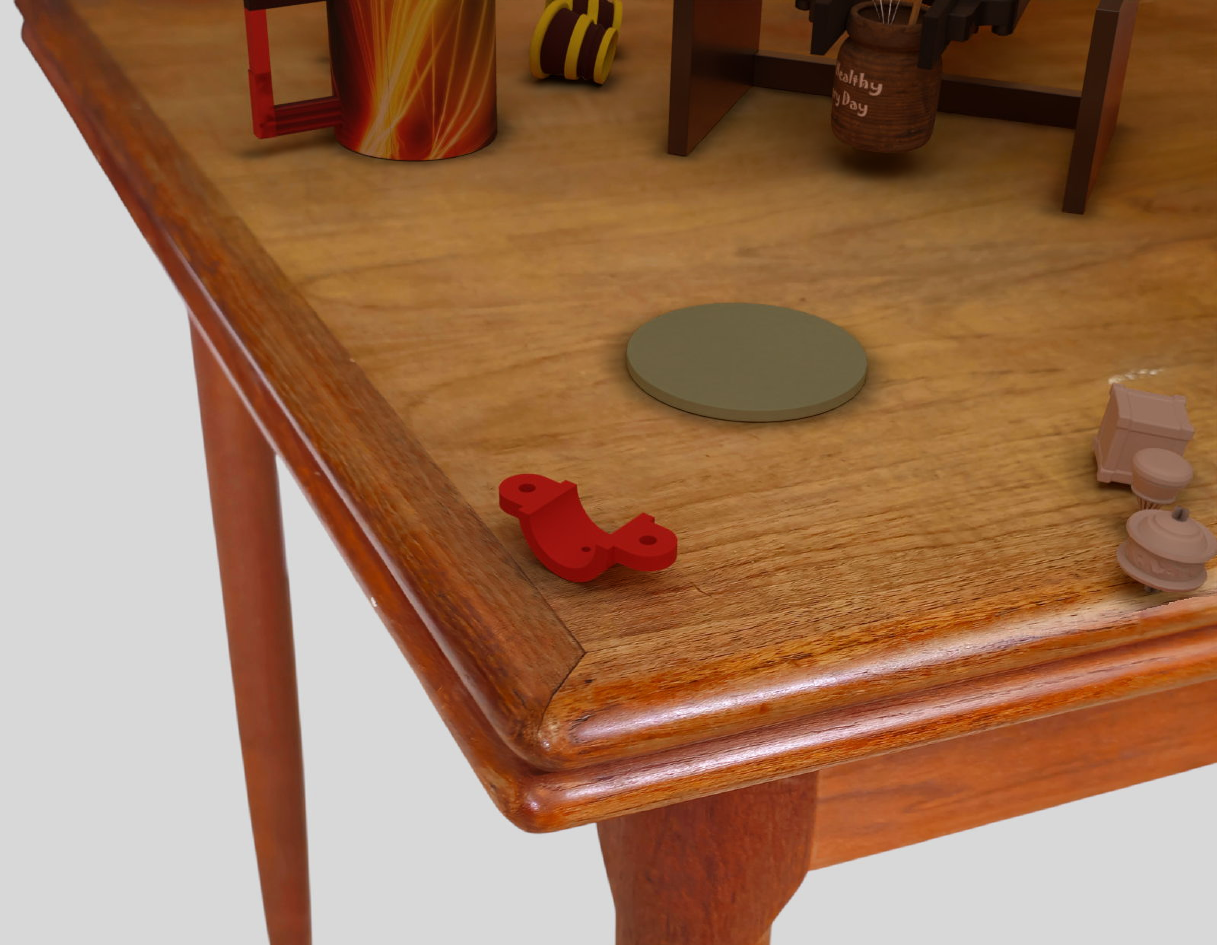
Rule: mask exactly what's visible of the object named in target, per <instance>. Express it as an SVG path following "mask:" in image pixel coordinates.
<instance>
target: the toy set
mask: <svg viewBox="0 0 1217 945" xmlns="http://www.w3.org/2000/svg"><path fill="white" fill-rule="evenodd" d="M1108 393H1109V398H1108V402H1107V405H1106V407H1105V411H1104V414H1103V417H1102V419H1101V422H1100V425H1099V428H1098V430H1097V431H1098V432H1097V434H1096V435H1094V437H1093V439H1092V442H1091V451H1092V452H1094V454H1095V460H1096V464H1097V472H1096V480H1097V482H1100V483H1101V482H1102V483H1107V484H1109V483H1111V482H1114V483H1119V484H1124V485H1130V489H1131V491H1132V493H1133V494H1134V495H1135V496H1136V500H1137V505H1138V509H1139V510H1137V511H1136V512H1134V513H1133V514H1132V515H1130V516H1129V518H1128V519H1127V521H1126V523H1125V529H1126V532H1127V533H1128V538H1127V539H1126V540H1125V541H1123V542H1121V543H1120V544H1119V545H1118V547H1117V548H1116V552H1115V556H1116V561H1117V563H1118V566H1119V567H1120V569H1121V570H1122V571H1123V572H1124V573H1125V574H1126V575H1127V576H1129V577H1130V578H1131V579H1133V580H1135V581H1137V582H1138V583H1140V584H1142V585H1144V587H1143V590H1144V591H1145V592H1146V593H1147V594H1148V593H1149V594H1150V593H1151V594H1152V595H1158V594H1159V593H1160V591H1162V592H1166V593H1167V592H1168V593H1177V594H1178V593H1179V594H1181V593H1191V592H1194V591H1196V590H1198V589H1200V588H1201V587H1202V586H1203V585H1204V584H1205V583H1206V581H1207V580H1208V572H1207V568H1206V563H1207V562H1209V561H1211V560H1213V559H1214V558H1215V557H1216V556H1217V538H1216V535H1214V533H1213V532H1212V531H1211V530H1210V529H1209V528H1208V527H1207V526H1206V525H1204V524H1203V523H1201V522H1199V521H1198V520H1196V519H1194V518H1192V517H1190V513H1191V510H1190V508H1187V507H1186V506H1182V505H1175V506H1174V507H1173V510H1166V509H1165V510H1164V509H1161V508H1162V507H1163V506H1165V505H1171V504H1173V503H1175V501H1176V500H1177V495H1178V494H1179V493H1180V492H1182V491H1183V490H1184V489H1185V488H1187V487H1188V485H1189V484H1190V483H1191V482H1192V480H1193V477H1194V469H1193V467H1192V464H1190V462H1189V461H1188V460H1187V459H1186V458H1184V454H1185V452H1186V449H1187V447H1188V444H1189V442H1191V441H1192V440H1193V438H1194V435H1195V432H1196V429H1195V426H1194V425H1193V424H1192V423H1191V422H1190V419H1189V415H1188V411H1187V407H1186V406H1187V403H1188V402H1187V401H1188V400H1187V397H1186V396H1185V395H1180V394H1175V393H1174V394H1172V395H1168V394H1161V393H1157V392H1152V391H1146V390H1141V389H1136V388H1130V387H1126V385H1125V384H1122V383H1118V382H1112V383H1111V386H1110V389H1109V392H1108Z"/></svg>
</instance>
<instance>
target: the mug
mask: <svg viewBox="0 0 1217 945" xmlns="http://www.w3.org/2000/svg"><path fill="white" fill-rule="evenodd" d="M321 2H325V5H326V6H325V8H326V23H327V36H328V52H329V54H328V55H329V67H330V68H329V69H330V70H329V71H330V87H331V95H329V96H323V97H322V96H321V97H316V98H309V99H303V100H296V101H292V102H285V103H279V104H275V102H274V90H273V89H274V88H273V79H272V78H273V76H272V67H271V66H272V65H271V55H270V54H271V52H270V43H269V41H270V40H269V31H268V30H269V28H268V18H267V10H270V9H271V10H273V9H277V8H285V7H286V8H287V7H292V6H300V5H306V4H314V3H321ZM496 2H497V0H243V12H244V23H245V33H246V34H245V35H246V45H247V56H248V69H247V76H248V87H249V98H250V99H249V100H250V110H251V119H252V131H253V132H252V133H253V135H254V136H255V137H256V138H257V139H258V140H265V139H266V140H267V139H275V138H277V137H284V136H289V135H294V134H299V133H305V132H311V131H316V130H317V131H318V130H323V129H329V128H333V132H334V136H335V139H336V141H337V142H338V143H339V144H340V145H342V146H343V147H345V148H347V149H349V150H350V151H353V152H355V153H358V154H360V155H364V156H369V157H373V158H378V159H379V158H380V159H386V160H393V161H394V160H396V161H432V160H442V159H450V158H454V157H461V156H464V155H467V154H470V153H474V152H477V151H479V150H481V149H483V148H485V147H486V146H487V147H488V145H490V144H491V143H492V142H494V140H495V139H496V137H497V135H498V97H497V96H498V88H497V85H498V84H497V82H498V81H497V14H496V13H497V12H496V10H497V9H496V5H497V4H496Z"/></svg>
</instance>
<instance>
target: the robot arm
mask: <svg viewBox="0 0 1217 945" xmlns="http://www.w3.org/2000/svg"><path fill="white" fill-rule="evenodd" d="M867 1H873V0H795V1H794V8H795V9H797V10H798V11H802V12H808V21H809V23H811V24H812V26H811V27H812V28H811V38H810V39H811V40H810V50H809V54H810V55H812V56H819V57H824V56H825V55H826V54H827V53H828V52H829V51H830V50H831V48H832V47H834V45H835V44H836V42H837V41H838V40H840V38H841V37H842V36H843V35H844V33H845V32H847V31H846V23H847V19H848V16H849V12H850V10H851V8H852V7H853V6H855V5H857V4H859V3H862V2H867ZM1030 1H1031V0H922V3H921V5H924V6H927V7H929V9H928V11H927V12H926V13H925V15H924V16H923V23H922V31H921V40H920V48H919V56H918V65H917V68H920V69H928V70H932V68H933V67H934V65H935V64H936V62H937V61H938V59H939V58H940V56H941V55H942V56H943V53H945V51H946V50H947V48H948V46H949V45H950V44H951V42H959V43H965V42H967V41H969V40H970V39H971V37H972V35H975V34H978V33H979V30H980V27H987V26H988V27H991V28H990V32H991V33H992V34H995V35H997V36H998V37H999V36H1000V37H1006V36H1011V35H1013V33H1014V31H1015V29H1016V27H1017V26H1018V24H1019V22H1020V20H1021V18H1022V17H1023V14H1024V12H1025V11H1026V9H1027V7H1028V5H1029V3H1030Z"/></svg>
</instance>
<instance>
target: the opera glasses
mask: <svg viewBox="0 0 1217 945" xmlns="http://www.w3.org/2000/svg"><path fill="white" fill-rule="evenodd" d="M622 20H623V1H621V0H612V1H609V0H545V1H544V6H543V13H542V15H540V18H539V20H538V22H537V24H536V26H535V28H534V31H533V34H532V37H531V39H530V45H529V53H528V64H529V69H530V72H531V74H532V76H534V77H535V78H537V79H540V80H544V79H547V78H548V77H550V76H551V75H557V76H564V78H565V79H567V80H575V81H576V80H578V79H579V78H582V79H584V80H585V81H588V80H589V79H590V78H592V79H593V82H595V83H596V84H599V85H603V84H604V83H605V82H606V80H607V78H608V77H609V74H610V71H611V68H612V66H613V64H614V63H613V62H614V60H615V55H616V51H617V46H618V42H619V37H620V32H621V28H622Z"/></svg>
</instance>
